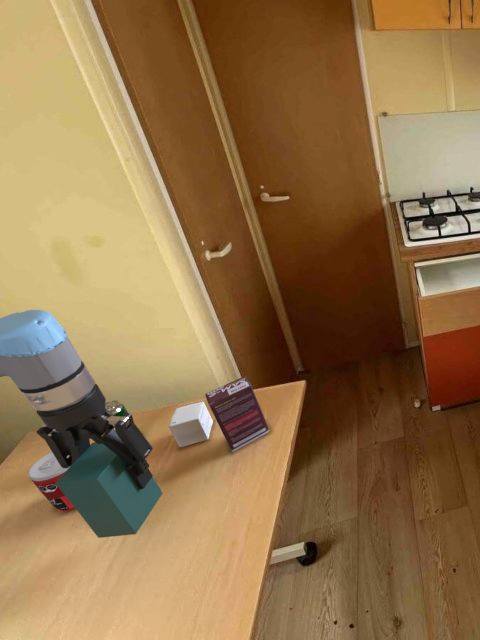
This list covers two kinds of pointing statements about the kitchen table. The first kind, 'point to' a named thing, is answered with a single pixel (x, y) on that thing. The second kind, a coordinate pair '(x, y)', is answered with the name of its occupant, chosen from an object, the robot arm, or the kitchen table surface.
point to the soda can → (115, 408)
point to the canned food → (50, 481)
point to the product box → (191, 424)
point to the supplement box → (237, 413)
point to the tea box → (107, 493)
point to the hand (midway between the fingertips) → (126, 484)
